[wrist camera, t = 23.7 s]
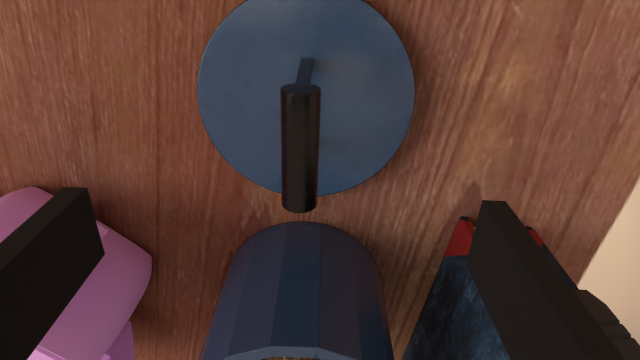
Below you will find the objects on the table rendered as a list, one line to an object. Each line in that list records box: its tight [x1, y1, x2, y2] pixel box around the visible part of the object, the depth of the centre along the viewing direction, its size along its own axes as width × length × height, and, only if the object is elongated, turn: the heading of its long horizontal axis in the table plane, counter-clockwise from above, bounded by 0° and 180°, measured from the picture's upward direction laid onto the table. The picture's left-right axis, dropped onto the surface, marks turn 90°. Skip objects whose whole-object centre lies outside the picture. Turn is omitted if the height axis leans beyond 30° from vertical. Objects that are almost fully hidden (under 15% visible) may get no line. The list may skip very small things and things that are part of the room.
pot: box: [199, 222, 394, 360], centre depth 29 cm, size 13×13×12 cm
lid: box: [197, 0, 415, 213], centre depth 23 cm, size 14×14×9 cm
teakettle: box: [0, 187, 152, 360], centre depth 28 cm, size 17×17×12 cm
